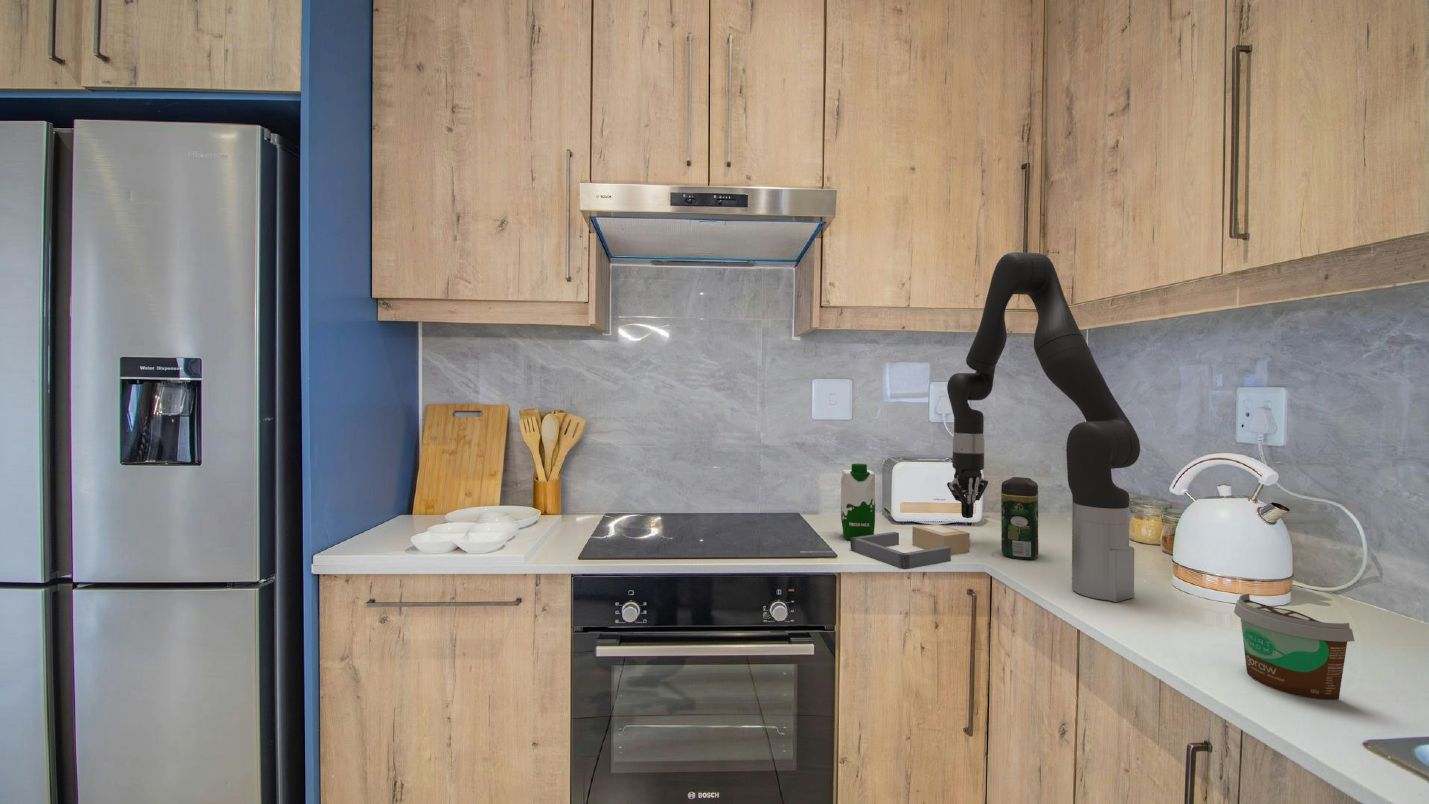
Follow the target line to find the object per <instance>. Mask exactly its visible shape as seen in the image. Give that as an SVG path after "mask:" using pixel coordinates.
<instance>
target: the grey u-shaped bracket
mask: <svg viewBox="0 0 1429 804" xmlns="http://www.w3.org/2000/svg"><path fill="white" fill-rule="evenodd" d="M898 545H900V533H899V532H897V531H891V532H883V533H876V534H875V533H874V535H867V536H860V537H853V538H851V541H850V551H853V552H855V553H859V554H861V555H863V556H867V557H870V558H872V559H874V560H877V561H880V562H883V563H886V564H890V565H892V566H895V567H898V568H899V569H903V570H905V569H911V568H917V567H922V566H928V565H934V564H935V565H936V564H940V563H944V562H950V561H952V555H951V548H950V547H947V546H944V547H938V548H932V549H921V550H915V551H910V552H909V551H908V552H903V551H899V550H896V549H893V548H889V547H891V546H898Z"/></svg>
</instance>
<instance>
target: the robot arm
mask: <svg viewBox="0 0 1429 804" xmlns="http://www.w3.org/2000/svg"><path fill="white" fill-rule="evenodd" d="M990 279H991V280H990V284H989V287H988V292H987V295H986V298H985V299H986V300H985V302H984V303H985V304H984V308H983V311H982V316H981V321H980V323H979V327H978V329H977V332H976V334H975V337H974V340H973V341H972V344H971V346H970V349H969V350H968V353H967V356H966V358H965V363H966V365H967V366H968V367H969V368H970V369H972V370H973V371H975V372H957V373H954V374H953V375H951V376H950V377H949V379H948V382H947V384H946V390H947V391H946V392H947V395H948V399H949V403H950V406H951V410H952V415H953V438H952V466H951V467H952V468H953V469H954V470H955V471H954V473H953V474H954V475H953V479H952V481H951V482H950V481H948V482H947V484H946V486H947V488H948V489H949V492H950V493H951V495H952V497H953V499H954V500H955V501H957V502H959V503H960V505H961V506H960V507H961V509H960V510H961V512H960V514H961V517H962V518H965V519H973V517H974V507H975V506H974V504H975V503H976V502H977V501H980V500H981V498H982V496H983V494H984V492H985V490H986V489H987V486H988V485H989V481H988V480H985V479H983V478H984V477H982V476H983V474H982V471H983V470H984V469H985V438H984V437H985V435H984V429H985V428H984V425H985V424H984V419H985V417H984V413H983V412H982V411H980V410H977V409H973V408H972V407H971V406H970V404H969V402H968V401H983V400H985V399H986V398H987V397H989V395H990V394H991V392H992V391H993V385H994V379H995V372H996V365H997V364H998V362H999V360H1000V358H1001V356H1002V354H1003V351H1004V350H1005V347H1006V343H1007V335H1008V334H1007V333H1008V331H1007V327H1006V319H1005V318H1006V317H1005V316H1006V315H1005V314H1006V309H1007V306H1008V304H1009V302H1010V300H1011V299H1012V297H1013V296H1014V295H1027V296H1028V297H1029V298H1030V299H1031V302H1032V303H1033V305H1034V307H1035V311H1036V313H1037V323H1036V328H1035V332H1034V337H1033V349H1034V353H1035V355H1036V356H1037V357H1036V358H1037V359H1038V361H1039V364H1040V366H1041V369H1042V370H1043V372H1044V374H1045V376H1046V377H1047V378H1048V380H1049V381H1050V382H1051V383H1052V384H1053V385H1054V386H1055V387H1057V388H1058V390H1060V391H1061V393H1063V394H1064V395H1065V396H1067V397H1068V398H1069V399H1070V400H1071V401H1072V402H1073V403H1074V404H1075V406H1077V408H1078V409H1079V411H1080V413H1082V415H1083V417H1084V419H1085V421H1083V422H1079V423H1077V424H1075V425H1073V427H1072V428H1071V430H1070V431H1069V433H1068V436H1067V439H1066V445H1065V446H1066V447H1065V448H1066V451H1065V452H1066V453H1065V454H1066V469H1067V470H1066V471H1067V484H1068V488H1069V490H1070V493H1071V495H1072V497H1071V498H1072V506H1071V507H1072V509H1071V510H1072V511H1071V515H1072V516H1071V520H1072V521H1071V522H1072V523H1071V526H1072V527H1071V530H1072V531H1071V532H1072V533H1071V535H1072V536H1071V541H1072V542H1071V589H1072V591H1073V592H1074V593H1076V594H1079V595H1082V596H1084V597H1089V598H1092V599H1097V600H1103V601H1104V600H1105V601H1109V602H1113V603H1118V602H1122V601H1125V600H1129V599H1132V598H1135V548H1134V547H1133V546H1131V545H1130V502H1131V501H1130V494H1129V492H1128V491H1127V490H1126V489H1123V488H1121V487H1119V486H1117V485H1116V484H1115V483H1114V482H1113V476H1112V470H1113V469H1114V470H1115V469H1125V468H1128V467H1132V465H1134V464H1135V463H1137V461H1138V459H1139V457H1140V454H1141V443H1140V439H1139V436H1138V434H1137V431H1136V430H1135V428H1134V426H1133V425H1132V423H1131V422H1130V419H1128V417H1127V415H1126V413H1124V410H1122V408H1121V406H1120V405H1119V403H1118V401H1117V400H1116V399H1115V397H1114V395H1113V394H1112V392H1111V389H1110V387H1109V386H1108V384H1107V382H1106V380H1105V378H1104V377H1103V374H1102V373H1101V371H1100V369H1099V367H1098V365H1097V362H1096V361H1095V359H1094V358H1095V357H1094V356H1093V354H1092V351H1091V349H1090V347H1089V345H1088V343H1087V341H1086V339H1085V337H1084V334H1083V333H1082V332H1081V329H1080V328H1079V326H1078V323H1077V322H1076V319H1075V317H1074V315H1073V313H1072V310H1071V309H1070V306H1069V304H1068V302H1067V300H1066V297H1065V294H1064V291H1063V289H1062V286H1061V285H1062V284H1061V282H1060V279H1059V276H1058V274H1057V270H1056V268H1055V265H1054V263H1053V262H1052V261H1051V258H1049V257H1048V256H1047V255H1046V254H1042V253H1038V252H1008V253H1006V254H1004V255H1002V256H1001V258H999V259H998V262H997V263H996V265H995V267H994V270H993V273H992V276H991V278H990Z"/></svg>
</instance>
